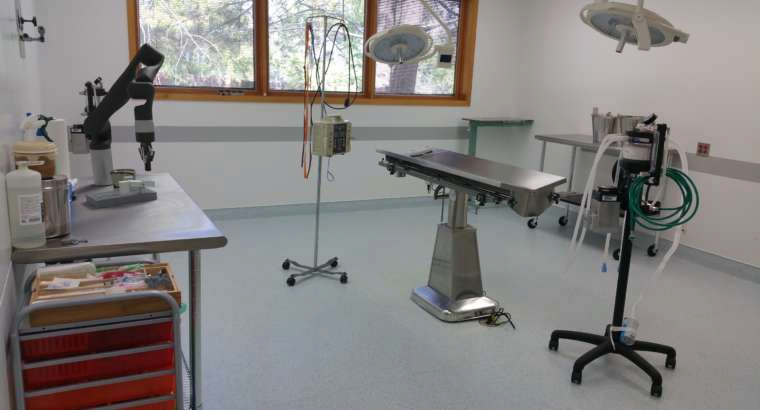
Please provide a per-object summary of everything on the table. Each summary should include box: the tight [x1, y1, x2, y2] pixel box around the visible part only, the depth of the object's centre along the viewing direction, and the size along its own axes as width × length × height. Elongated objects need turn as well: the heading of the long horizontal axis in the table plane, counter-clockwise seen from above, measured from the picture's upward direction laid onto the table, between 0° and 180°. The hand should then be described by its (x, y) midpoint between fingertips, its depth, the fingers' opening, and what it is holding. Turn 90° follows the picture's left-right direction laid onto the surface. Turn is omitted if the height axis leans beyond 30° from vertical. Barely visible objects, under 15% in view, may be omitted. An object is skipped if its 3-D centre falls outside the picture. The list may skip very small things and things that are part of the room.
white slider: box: [118, 180, 130, 195], centre depth 227 cm, size 3×3×6 cm
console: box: [85, 186, 158, 209], centre depth 231 cm, size 15×24×6 cm, turn 133°
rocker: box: [127, 179, 156, 188], centre depth 232 cm, size 5×10×2 cm, turn 133°
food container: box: [109, 168, 138, 191], centre depth 247 cm, size 12×6×10 cm, turn 84°
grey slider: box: [123, 176, 134, 189], centre depth 237 cm, size 3×3×6 cm
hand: (148, 170), depth 233 cm, fingers closed
